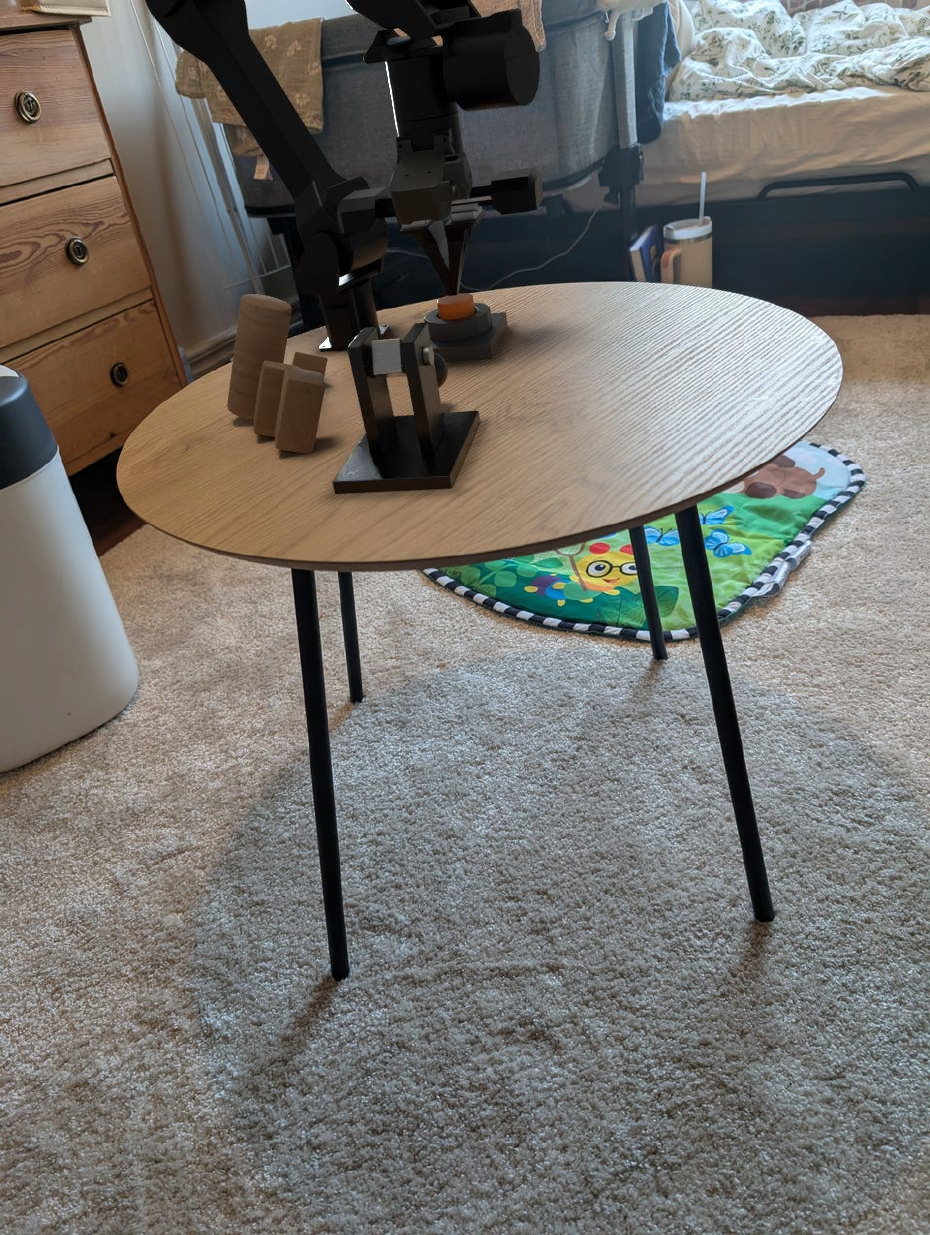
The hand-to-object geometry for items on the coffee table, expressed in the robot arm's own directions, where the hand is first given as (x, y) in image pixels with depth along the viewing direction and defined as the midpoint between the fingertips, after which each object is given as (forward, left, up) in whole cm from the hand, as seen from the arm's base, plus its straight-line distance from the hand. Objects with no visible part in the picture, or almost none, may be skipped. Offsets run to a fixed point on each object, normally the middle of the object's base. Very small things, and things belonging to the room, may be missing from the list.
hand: (453, 294), depth 88 cm
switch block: (0, 0, -5) cm, 5 cm away
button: (0, 0, -2) cm, 2 cm away
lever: (+22, +1, -1) cm, 22 cm away
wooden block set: (+17, -13, -5) cm, 22 cm away
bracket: (+26, +1, -5) cm, 27 cm away
